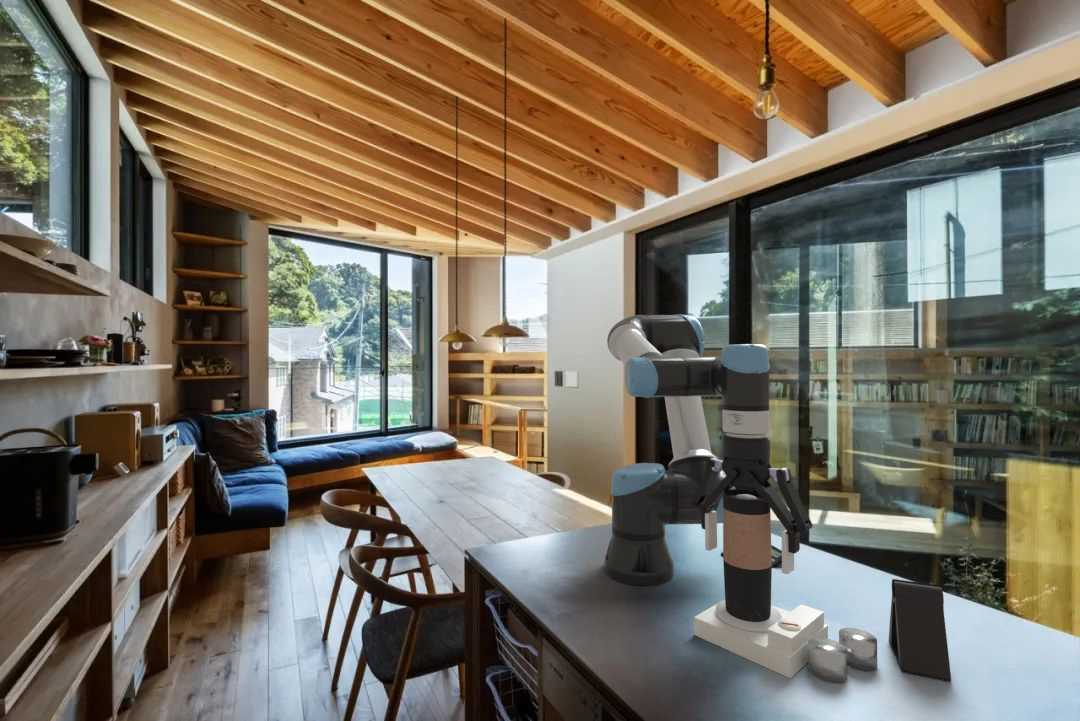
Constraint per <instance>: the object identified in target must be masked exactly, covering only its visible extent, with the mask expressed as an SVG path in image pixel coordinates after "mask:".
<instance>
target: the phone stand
mask: <svg viewBox="0 0 1080 721" xmlns="http://www.w3.org/2000/svg"><path fill="white" fill-rule="evenodd" d="M942 588H943V587H940V585H939V584H935V583H934V584H931V583H924V582H918V581H910V580H903V579H896V578H892V579H891V604H890V615H889V616H890V617H889V629H888V630H889V631H888V644H889V647H890V648H891V651H892V653H893V656H894V659H895V660H896V664H897V665H898V668H899V670H900V672H901V673H904V674H905V673H906V674H911V675H915V676H916V675H917V676H920V677H925V678H930V679H936V680H940V681H946V682H951V683H952V674H951V665H950V657H949V654H950V653H949V647H948V638H947V637H948V636H947V628H946V619H945V610H944V608H945V607H944V599H945V598H944V593H943V589H942Z"/></svg>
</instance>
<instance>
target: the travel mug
mask: <svg viewBox="0 0 1080 721" xmlns="http://www.w3.org/2000/svg"><path fill="white" fill-rule="evenodd" d="M771 513H772V512H771V508H770V507H769V505H768V504H767V503H766V501H765V500H764V498H763V497H762V496H760V495H759V494H758V493H757V491H753V492H751V491H747V490H745V489H731V490H726V491H724V493H723V523H722V524H723V525H722V530H723V532H722V541H723V542H722V543H723V544H722V547H723V548H722V550H723V551H722V553H723V556H722V557H723V560H722V561H723V564H722V565H723V582H724V599H725V605H726V611H727V612H728V613H729V614H730V615H731V616H733V617H735V618H737V619H740V620H744V621H749V622H762V621H766V620H768V619H769V618H770V615H771V605H772V571H773V570H772V569H773V568H772V554H771V545H772V523H771V522H772V520H771V519H772V518H771V517H772V516H771Z"/></svg>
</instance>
